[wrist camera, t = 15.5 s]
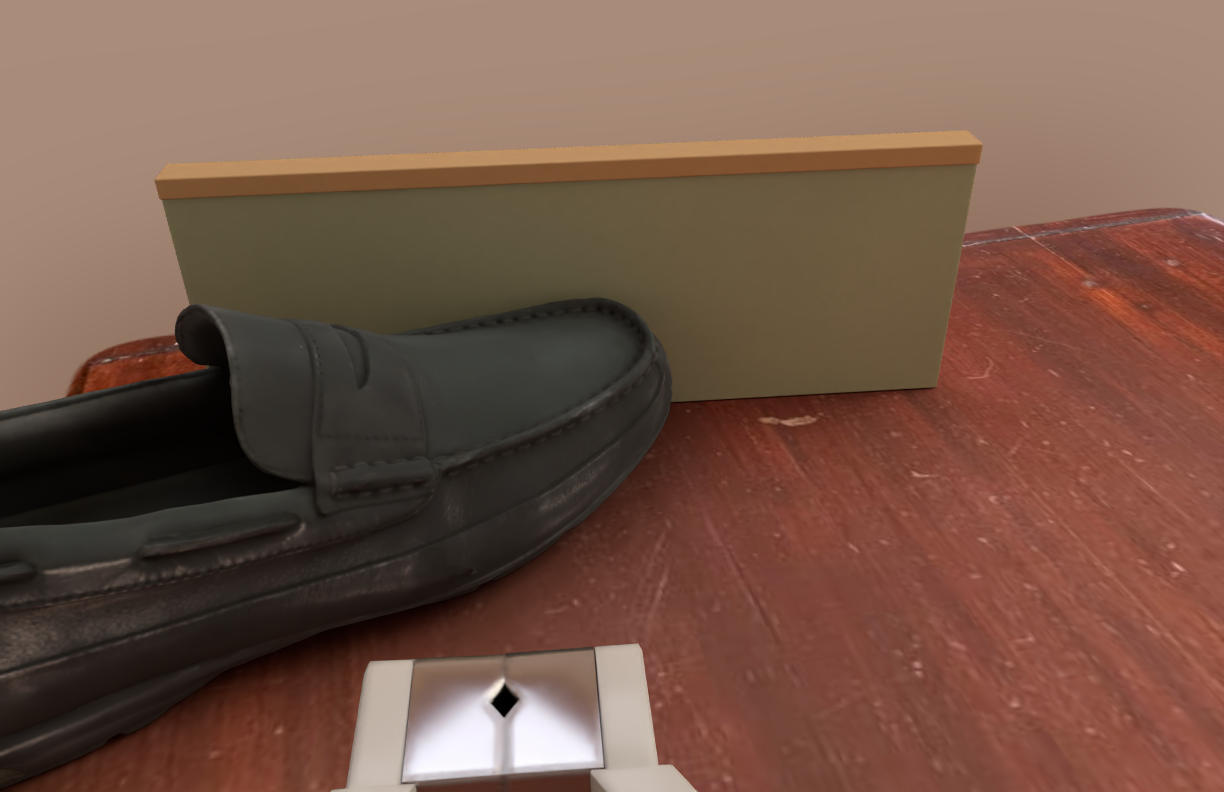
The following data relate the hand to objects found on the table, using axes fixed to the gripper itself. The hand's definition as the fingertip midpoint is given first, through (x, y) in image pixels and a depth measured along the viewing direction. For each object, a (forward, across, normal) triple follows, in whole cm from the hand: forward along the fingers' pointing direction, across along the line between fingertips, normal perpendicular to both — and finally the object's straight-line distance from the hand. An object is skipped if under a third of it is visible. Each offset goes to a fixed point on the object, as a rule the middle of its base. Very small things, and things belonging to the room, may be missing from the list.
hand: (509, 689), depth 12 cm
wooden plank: (+29, -2, +15) cm, 33 cm away
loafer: (+19, +7, +15) cm, 25 cm away
